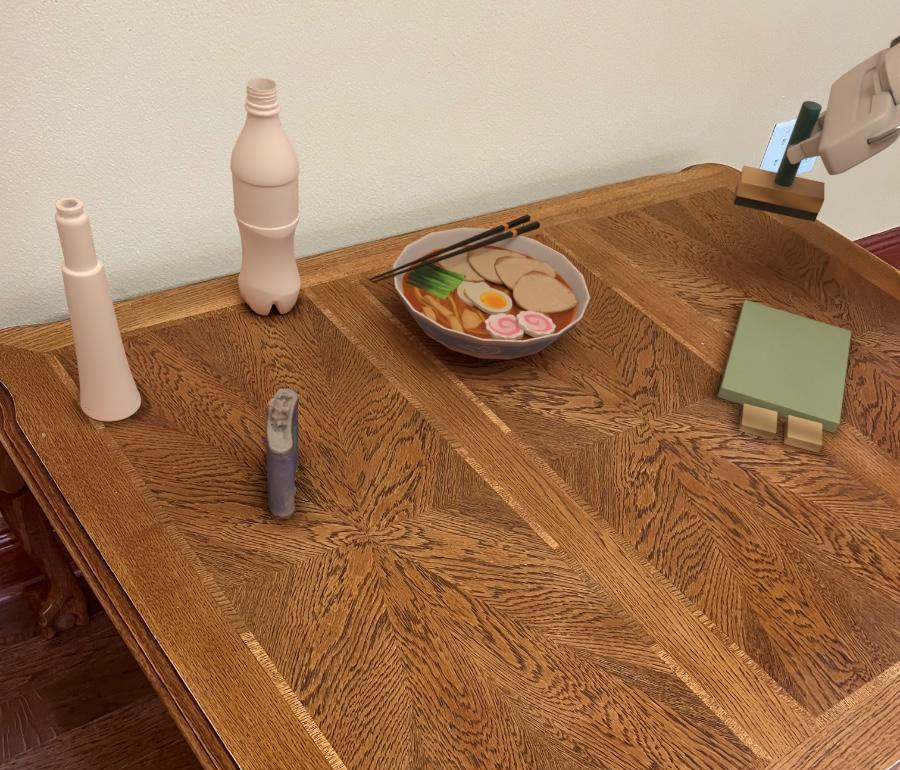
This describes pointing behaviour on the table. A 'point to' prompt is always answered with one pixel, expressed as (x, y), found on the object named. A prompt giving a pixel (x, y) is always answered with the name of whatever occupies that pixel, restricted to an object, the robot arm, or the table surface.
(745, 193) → the brush
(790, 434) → the cracker
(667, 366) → the table surface
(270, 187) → the water bottle
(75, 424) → the table surface
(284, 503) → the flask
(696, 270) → the table surface
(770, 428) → the cracker
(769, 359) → the green rectangular board
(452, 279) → the ramen bowl
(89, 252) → the cosmetic bottle
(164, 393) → the table surface
